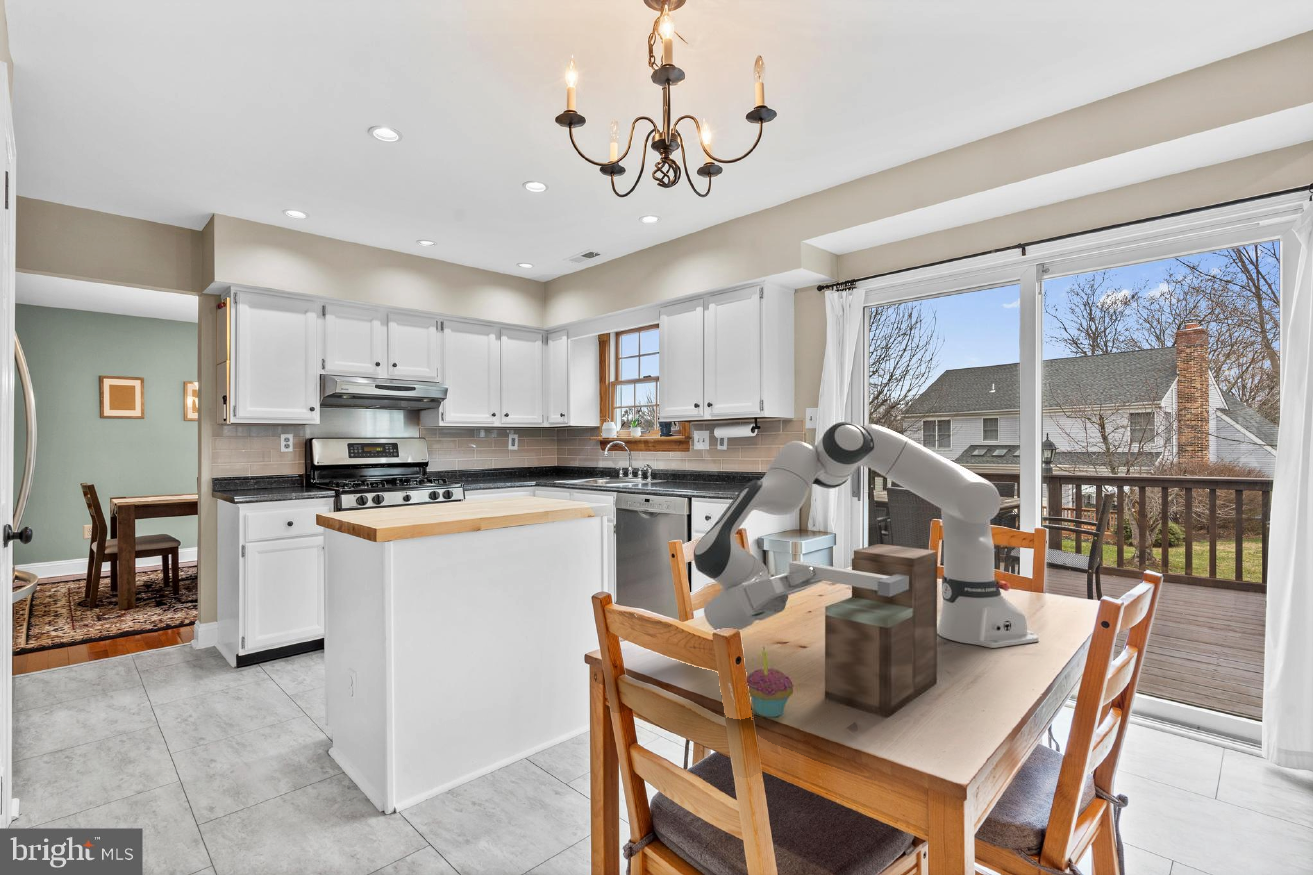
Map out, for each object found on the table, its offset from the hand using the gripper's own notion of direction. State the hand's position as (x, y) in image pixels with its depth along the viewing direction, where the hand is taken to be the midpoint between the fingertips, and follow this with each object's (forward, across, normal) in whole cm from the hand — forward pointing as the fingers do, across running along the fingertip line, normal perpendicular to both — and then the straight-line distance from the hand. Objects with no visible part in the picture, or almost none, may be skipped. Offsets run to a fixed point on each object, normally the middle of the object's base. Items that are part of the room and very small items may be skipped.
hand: (818, 569), depth 129 cm
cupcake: (-11, +17, -20) cm, 28 cm away
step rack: (-2, -6, -25) cm, 26 cm away
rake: (+3, 0, -4) cm, 5 cm away
